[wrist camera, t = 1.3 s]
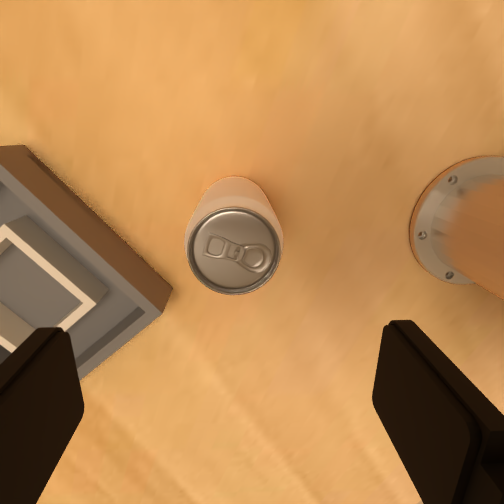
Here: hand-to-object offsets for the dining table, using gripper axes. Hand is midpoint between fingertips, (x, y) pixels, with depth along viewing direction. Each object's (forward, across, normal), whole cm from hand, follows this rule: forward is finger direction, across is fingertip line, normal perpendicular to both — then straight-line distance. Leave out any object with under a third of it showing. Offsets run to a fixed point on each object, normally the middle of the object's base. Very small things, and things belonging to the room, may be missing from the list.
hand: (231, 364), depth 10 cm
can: (+22, 0, 0) cm, 23 cm away
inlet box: (+22, +19, +7) cm, 30 cm away
